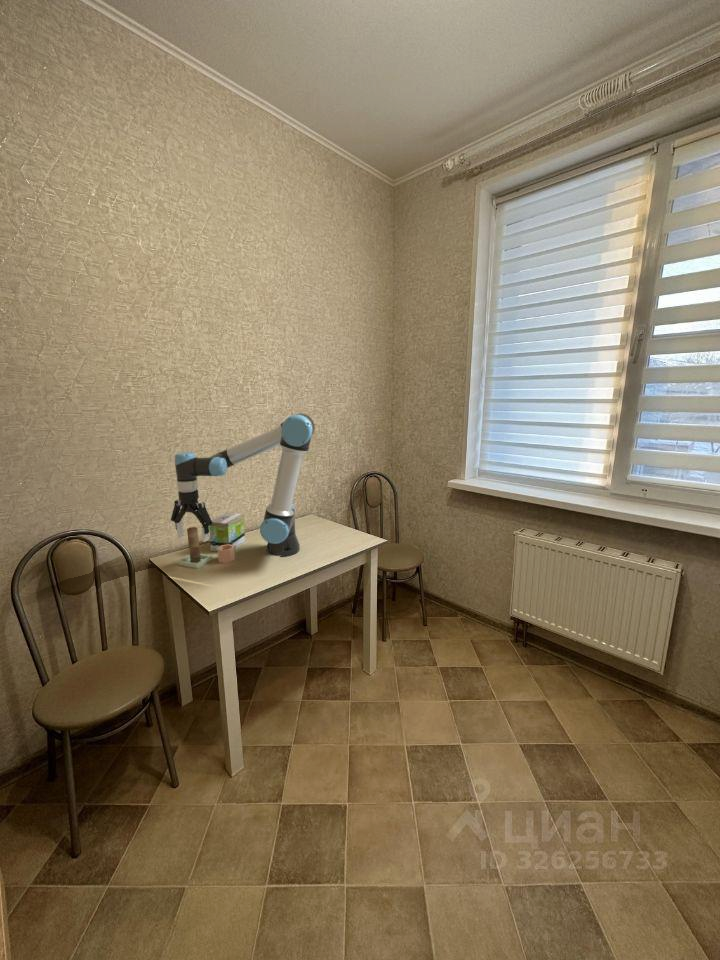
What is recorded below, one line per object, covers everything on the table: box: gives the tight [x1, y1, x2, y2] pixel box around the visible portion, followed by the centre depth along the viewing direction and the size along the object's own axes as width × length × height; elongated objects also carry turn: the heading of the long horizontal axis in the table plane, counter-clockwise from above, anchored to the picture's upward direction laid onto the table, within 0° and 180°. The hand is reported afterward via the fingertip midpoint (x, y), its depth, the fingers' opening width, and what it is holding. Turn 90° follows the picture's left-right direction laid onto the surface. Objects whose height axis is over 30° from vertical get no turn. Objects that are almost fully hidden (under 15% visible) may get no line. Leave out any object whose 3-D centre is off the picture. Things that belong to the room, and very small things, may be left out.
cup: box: [216, 544, 236, 564], centre depth 166 cm, size 7×7×6 cm
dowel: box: [186, 526, 201, 563], centre depth 162 cm, size 4×4×15 cm
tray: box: [177, 553, 213, 569], centre depth 164 cm, size 10×9×2 cm
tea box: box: [209, 512, 246, 552], centre depth 181 cm, size 15×10×15 cm, turn 168°
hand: (193, 538), depth 162 cm, fingers open, 13 cm apart
